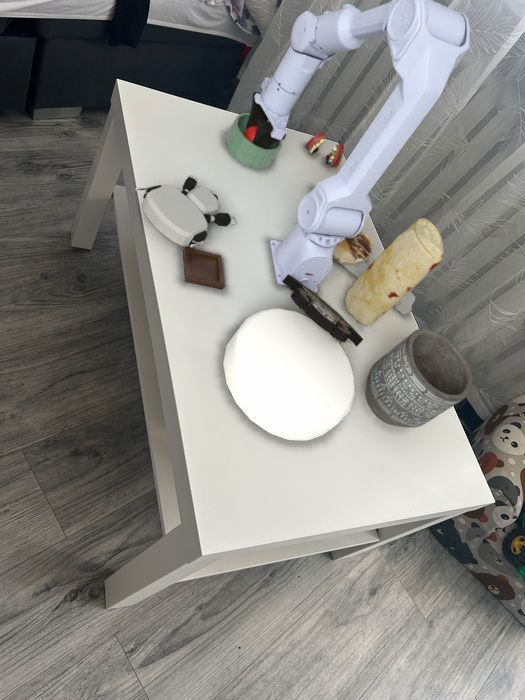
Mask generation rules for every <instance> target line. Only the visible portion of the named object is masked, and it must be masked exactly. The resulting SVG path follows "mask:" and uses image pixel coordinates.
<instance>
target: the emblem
mask: <svg viewBox="0 0 525 700" xmlns="http://www.w3.org/2000/svg"><path fill="white" fill-rule="evenodd" d="M282 282H283V283H284V284H285V285H287V286H286V287H288V288H289V289H291V291H292V292H291V293H290V298H291V300H292V301H293V302H294V304H295V306H298V308H299V309H300V310H301V311H303V312H304V313H305V315H306V316H307V317H310V318H311V319H312V320H313V321H314V322H315V323H316V324H317V325H318V326H320V327H321V328H322V329H324V330H325V331H327V332H329V333H330V335H331V336H332V337H334V338H335V339H336V340H337V342H339V343H343V344H345V343H346V342H347V341H348V340H349V341H350V342H351V343H352V344H353V345H354V346H356V347H359V345H360V344H361V343H362V342H363V341H364V338H363V337H362V335H360V334H359V332H358V331H357V330H356V329H355V328H354V327H353V326H352V325H351V324H350V323H348V322H347V320H346V319H345V318H344V317H343V316H342V315H341V314H340V313H339V312H338V311H337V310H336V309H334V308H333V307H332V306H331V305H330V304H328V302H327V301H325V300H324V299H323V298H322V297H321V296H319V295H318V294H317V292H313V291H311V290H310V289H308V288H307V287H306V286H304V285H303V284H302V283H301V282H299V281H298V280H296V279H295V278H293V277H292V276H291V275H289V274H288V275H287V276H286V277H285V279H284V280H283V281H282ZM285 285H284V286H285Z"/></svg>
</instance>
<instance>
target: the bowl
mask: <svg viewBox="0 0 525 700" xmlns="http://www.w3.org/2000/svg"><path fill="white" fill-rule="evenodd" d="M250 113H251V112H243V113H239V114H238V115H237V116H236V117H235V120H234V121H233V122H232V124H231V127H230V128H229V130H228V131H227V134H226V136H225V145H226V148H227V150H228V151H229V153H230V155H232V156H233V157H234V158H235V159H236V160H237V161H239V162H240V163H241V164H243V165H244V166H247V167H248V168H249V167H250V168H252V169H257V170H262V169H266V168H268V167H269V166H270V165H271V164H272V163H273V161H274V159H275V158H276V156H277V154H278V153H279V151H280V149H281V148H282V145H283V140H281V141H278V142H276V143H274V144H273V145H271V146H270V147H269V148H268V149H264V148H261V147H259V146H257V145H255V144H253V143H252V142H250V141H249V140H248V139H247V138H246V137H245V136H244V132H245V131H246V127H247V123H248V120H249V116H250ZM267 122H269V120H267Z"/></svg>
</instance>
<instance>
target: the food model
mask: <svg viewBox="0 0 525 700" xmlns="http://www.w3.org/2000/svg"><path fill="white" fill-rule="evenodd" d="M443 243H444V242H443V237H442V235H441V233H440V231H439V229H438V228H437V227H436V226H435V225H434V224H433V222H431V220H429V219H427V218H425V217H421V218H419V219H417V220H416V221H414V222H413V223H412V224H411V225H410V226H409V227H408V228H407V229H405V230H404V231H403V232H402V233H401V234H399V235H397V237H396V238H394V240H393V241H392V242H391V243H390V244H389V245H388V246H387V247H386V248H385V249H384V250H383V251H382V253H380V254H379V255H378V256H377V257H376V259H374V260H373V261H372V262H373V263H372V264H371V265H370V266H369V267H368V268H367V269H366V270H365V271H364V272H363V274H362V275H361V276H360V277H359V278H356V280H355V281H354V282H353V283H352V284H351V286H350V287H349V289H347V292H346V294H345V298H344V303H345V307H346V309H347V311H348V313H349V314H350V315H351V316H352V317H353V318H354V319H355V320H356V321H357V322H358V323H359V324H361V325H363V326H367V327H368V326H371V325H372V324H374V323H375V322H376V321H377V320H378V319H379V318H380V317H383V316H384V315H385V314H387V312H389V311H390V310H392V309H393V307H395V306H394V305H395V304H396V303H397V302H399V301H400V300H401V299H402V298H403V297H404V296H405V295H406V294H408V293H409V292H410V291H411V292H412V290H413V289H414V288H415V287H417V285H419V284H420V283H421V282H422V280H424V278H425V277H426V276H428V274H430V273H431V271H433V270H434V269H435V268H436V267H437V266H438V265H439V264H440V263H441V262H442V261H443V260H442V259H443V257H444V244H443Z"/></svg>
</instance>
